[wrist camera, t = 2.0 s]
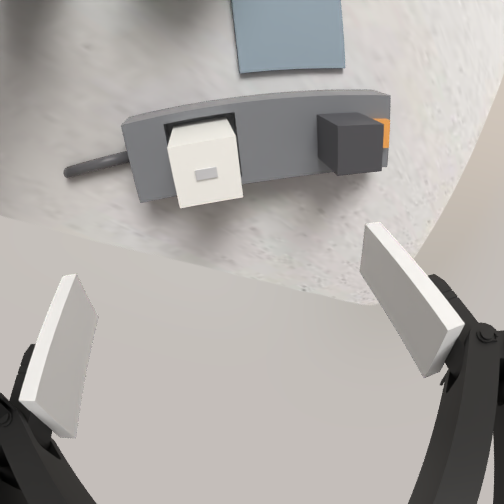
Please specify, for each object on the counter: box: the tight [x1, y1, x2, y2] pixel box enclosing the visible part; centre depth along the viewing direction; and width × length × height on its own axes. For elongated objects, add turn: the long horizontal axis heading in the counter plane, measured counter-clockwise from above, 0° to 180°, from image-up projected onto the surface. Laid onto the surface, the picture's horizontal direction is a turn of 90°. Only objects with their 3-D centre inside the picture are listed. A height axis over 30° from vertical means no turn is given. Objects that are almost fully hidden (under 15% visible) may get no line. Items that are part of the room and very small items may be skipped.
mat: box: [231, 0, 345, 73], centre depth 25 cm, size 11×11×1 cm
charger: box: [167, 117, 243, 208], centre depth 27 cm, size 5×5×8 cm
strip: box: [64, 90, 390, 203], centre depth 28 cm, size 35×8×9 cm, turn 96°
